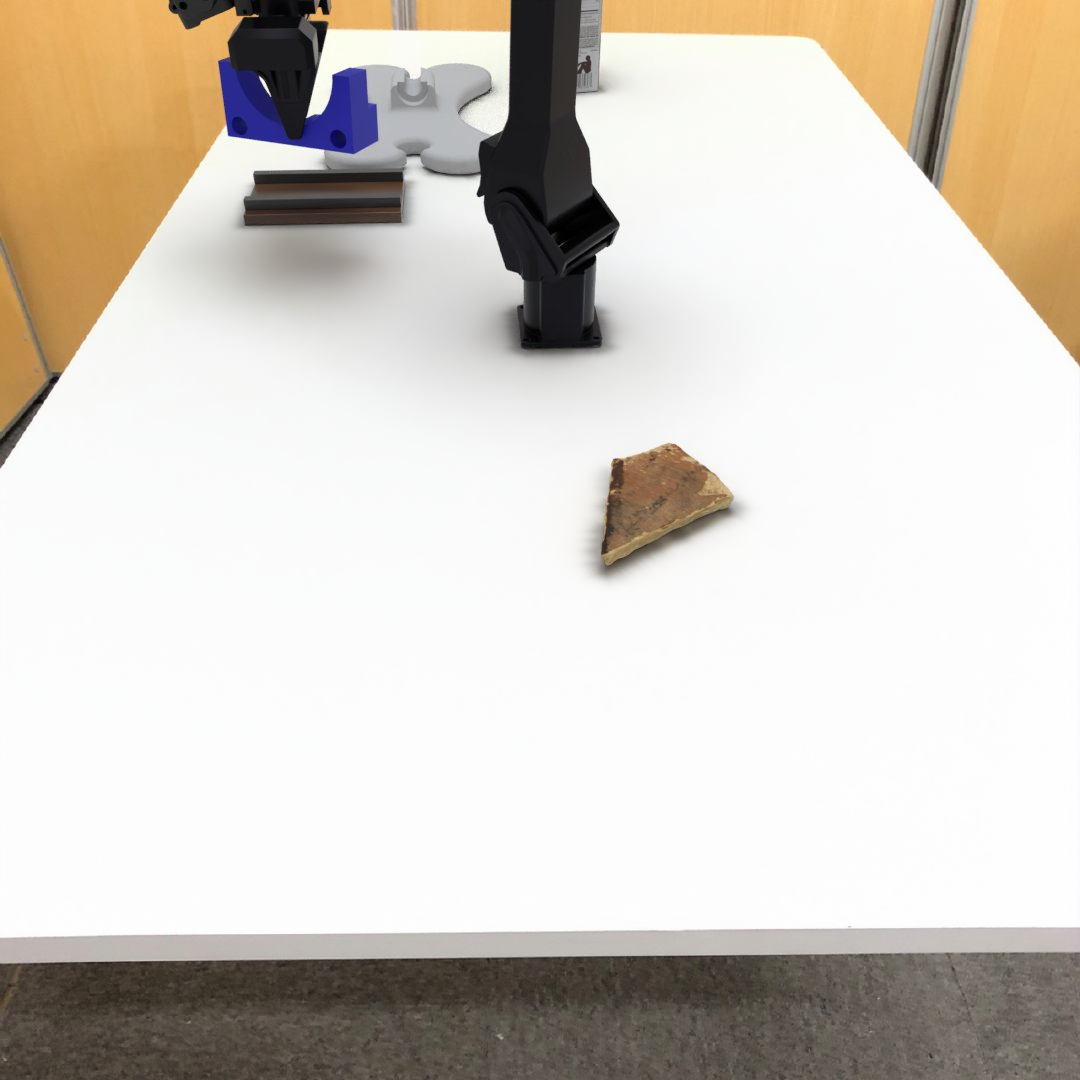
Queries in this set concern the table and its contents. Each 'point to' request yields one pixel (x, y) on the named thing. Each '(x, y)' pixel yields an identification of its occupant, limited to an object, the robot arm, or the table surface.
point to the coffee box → (589, 46)
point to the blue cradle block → (335, 129)
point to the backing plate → (325, 196)
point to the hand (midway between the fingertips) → (297, 127)
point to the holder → (421, 119)
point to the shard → (656, 498)
